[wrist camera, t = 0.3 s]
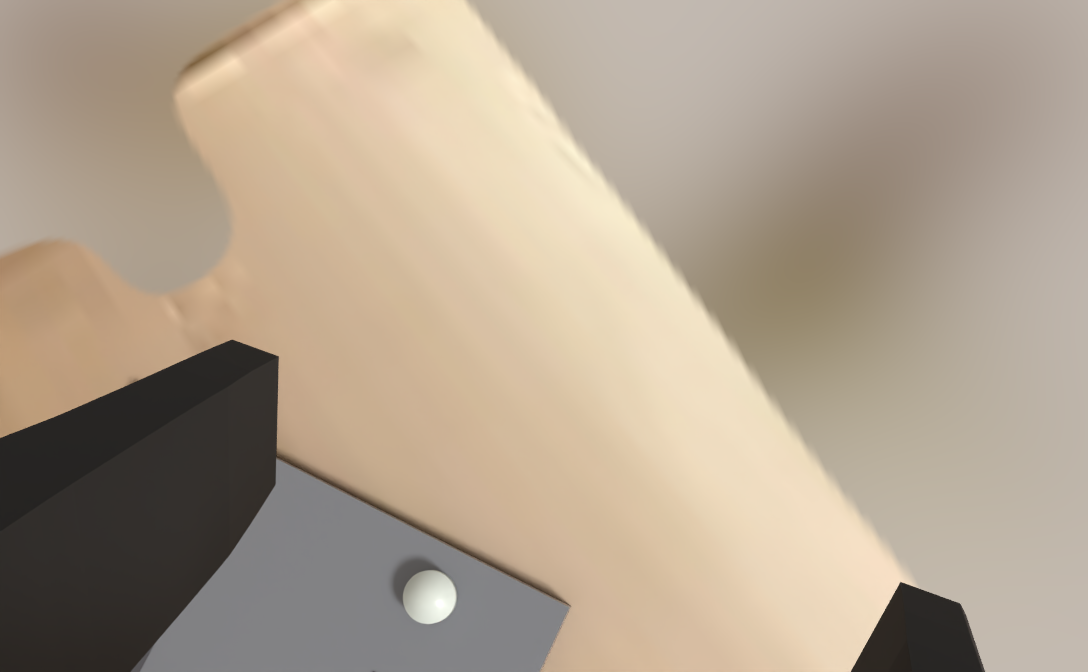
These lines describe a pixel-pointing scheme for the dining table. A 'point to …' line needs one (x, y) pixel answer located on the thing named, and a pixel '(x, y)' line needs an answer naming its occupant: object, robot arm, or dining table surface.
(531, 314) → the dining table surface
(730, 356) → the dining table surface
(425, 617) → the panel
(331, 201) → the dining table surface
